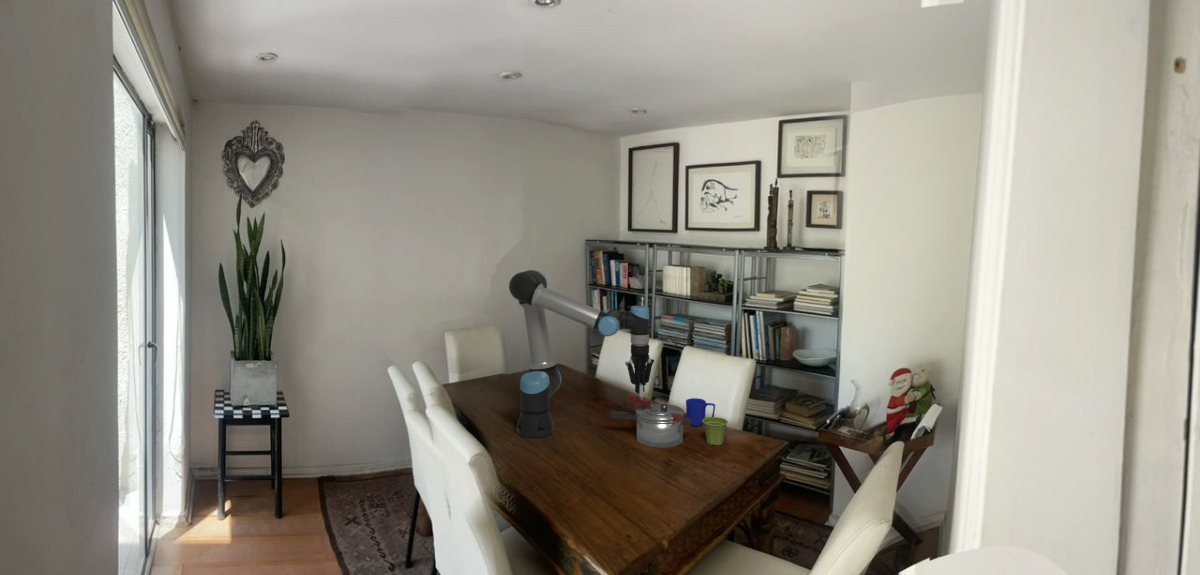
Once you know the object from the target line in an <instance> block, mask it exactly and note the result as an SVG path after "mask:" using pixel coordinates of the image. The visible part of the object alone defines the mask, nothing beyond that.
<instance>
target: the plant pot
mask: <svg viewBox="0 0 1200 575" xmlns="http://www.w3.org/2000/svg"><path fill="white" fill-rule="evenodd" d="M727 425H728V420H727V419H725V418H723V417H718V416H717V417H716V416H714V417H712V416H708V417H705V418H704V419H703V426H704V431H705V440H706V443H707V444H708V445H710V446H713V445H715V446H720V445H723V444H724V441H725V440H724V439H725V432H726V428H727Z"/></svg>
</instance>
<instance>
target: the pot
mask: <svg viewBox="0 0 1200 575" xmlns="http://www.w3.org/2000/svg"><path fill="white" fill-rule="evenodd" d="M610 418H611V419H617V420H629V421H636V440H637V442H638V443H639V444H641V445H643V446H646V447H651V448H659V449H660V448H661V449H665V448H672V447H673V448H674V447H677V446H679V445H681V444H682V443H683V441H684V426H687V427H688V426H689V427H690V426H692V425H691V422H692V418H687V417H684V420H683V421H681V422H677V421H674V420H673V421H651V420H646V419H643V418H640V417H639V416H637V415H636V412H628V411H627V412H626V411H618V410H617V411H616V410H612V411H611V412H610Z"/></svg>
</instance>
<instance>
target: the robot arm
mask: <svg viewBox="0 0 1200 575" xmlns="http://www.w3.org/2000/svg"><path fill="white" fill-rule="evenodd" d="M508 289H509V293H510V295H511V296H512V297H513V298H514V299H515V300H518V304H519V306H521V307H522V308H523V313H524V319H525V325H526V326H525V327H526V332H527V333H526V334H527V340H528V346H529V352H530V360H531V363H530V365H529V366H528V371H529V372H526V373H524V374H523V375H522V376H521V377H520V380H519V381H520V383H519V389H520V390H519V391H520V398H519V399H520V415H519V418H518V421H517V424H516V434H518V435H519V436H521V437H524V438H530V439H531V438H542V437H547V436H550V435H551V434H553V433H554V432H555V423H554V421H553V418H552V415H551V413H550V411H551V410H550V397H552V396H553V395H554V394H556V392H557V391H558V390H559V388H560V386H561V384H562V375H561V373H560V371H559V370H558V368H557V363H556V362H555V360H553V359H552V353H551V352H552V351H551V344H550V339H549V338H550V337H549V332H548V331H549V330H548V324H547V318H546V313H545V310H548V311H551V312H553V313H555V314H558V315H560V316H563V317H565V318H567V319H569V320H572V321H575V322H577V323H579V324H581V325H584V326H586V327H589V328H591V329H594V330H596V331H597V332H599V333H600V334H601V335H602V336H604V337H611V336H614V335H616V334H617V333H618V332H619V330H630V355H631V356H630V358H629V360H628V361H625V366H626V368H627V371H628V372H627V373H628V375H629V380H630V383H631V384H632V385H634V391H635V393H636V395H638V396H640V397H643V398H644V392H645V390H646V388H645V386H646V385H647V383H649V382H650V378H651V373H652V368H653V365H654V363H655V360H654V359H653V358H651V357H650V354H649V353H650V308H649V307H648V306H645V305H633V306H631V307H630V310H612V309H610V310H603V311H602V310H600V309H598V308H595V307H592V306H590V305H587V304H585V303H583V302H580V301H578V300H576V299H573V298H570V297H568V296H566V295H564V294H561V293H559V292H556V291H554V290H551V289H549V288H548V280H547V278H546V276H545V274H543V273H542V272H541V271H539V270H536V269H529V270H525V271H522V272H521V271H520V272H518V273H515V275H513V276H512V277H511V279H510V281H509V284H508Z"/></svg>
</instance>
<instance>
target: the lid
mask: <svg viewBox="0 0 1200 575" xmlns="http://www.w3.org/2000/svg"><path fill="white" fill-rule="evenodd" d="M626 397H627V398H626V399H627V400H626V401H627V402H628V403H630V404H633V405H635V406H638V407H637V408H636V409H635V413H636V415H637V416H639V417H640V418H643V419H646V420H651V421H673V420H674V421H677V422H681V421H683V420H684V418H685V417H684V416H685V410H684V409H683V408H682V407H680V406H677V405H675V404H674V405H673V404H669V403H651V400H650V399H648V398H645V397H644V396H643V397H640V396H638V395H637V394H635V393H628V394H627V396H626Z"/></svg>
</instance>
